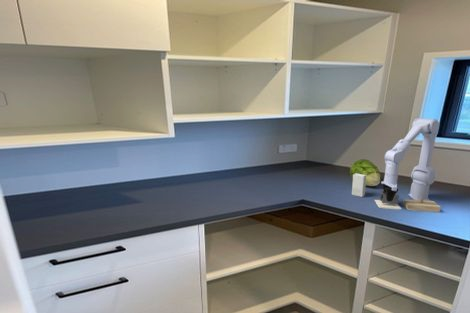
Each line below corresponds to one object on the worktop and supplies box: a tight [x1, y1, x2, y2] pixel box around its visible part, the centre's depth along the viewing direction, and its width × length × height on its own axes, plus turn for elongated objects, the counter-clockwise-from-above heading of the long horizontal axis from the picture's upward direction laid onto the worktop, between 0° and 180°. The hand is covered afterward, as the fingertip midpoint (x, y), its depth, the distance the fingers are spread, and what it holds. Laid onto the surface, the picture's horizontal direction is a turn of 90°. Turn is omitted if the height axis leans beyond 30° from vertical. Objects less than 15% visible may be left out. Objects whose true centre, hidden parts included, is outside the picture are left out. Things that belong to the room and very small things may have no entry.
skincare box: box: [351, 173, 367, 198], centre depth 160 cm, size 6×4×12 cm
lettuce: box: [349, 158, 381, 187], centre depth 179 cm, size 16×21×15 cm
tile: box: [374, 199, 402, 210], centre depth 147 cm, size 10×10×1 cm
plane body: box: [402, 198, 441, 213], centre depth 143 cm, size 7×14×6 cm, turn 78°
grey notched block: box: [379, 190, 400, 205], centre depth 146 cm, size 4×7×5 cm, turn 78°
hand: (388, 199), depth 147 cm, fingers closed on grey notched block, 4 cm apart
